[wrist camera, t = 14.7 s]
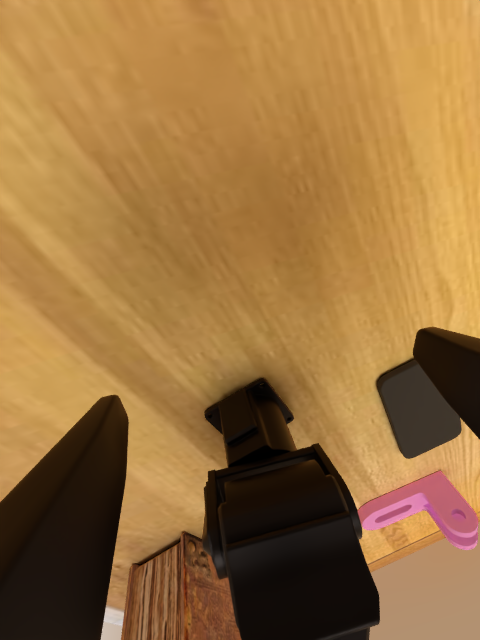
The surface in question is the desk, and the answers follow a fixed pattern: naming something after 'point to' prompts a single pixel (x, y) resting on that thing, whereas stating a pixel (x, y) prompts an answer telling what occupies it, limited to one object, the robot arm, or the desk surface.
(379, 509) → the bracket
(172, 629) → the book
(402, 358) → the desk surface
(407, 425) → the phone
